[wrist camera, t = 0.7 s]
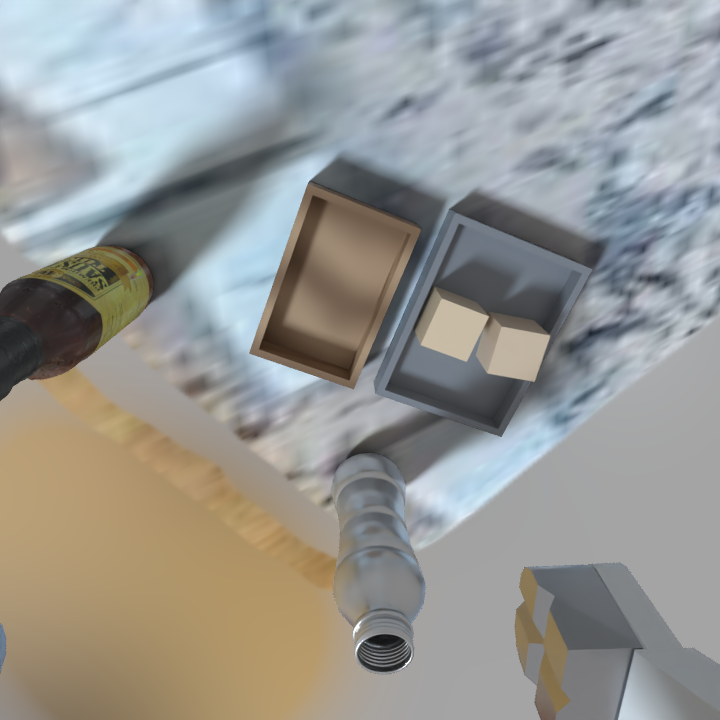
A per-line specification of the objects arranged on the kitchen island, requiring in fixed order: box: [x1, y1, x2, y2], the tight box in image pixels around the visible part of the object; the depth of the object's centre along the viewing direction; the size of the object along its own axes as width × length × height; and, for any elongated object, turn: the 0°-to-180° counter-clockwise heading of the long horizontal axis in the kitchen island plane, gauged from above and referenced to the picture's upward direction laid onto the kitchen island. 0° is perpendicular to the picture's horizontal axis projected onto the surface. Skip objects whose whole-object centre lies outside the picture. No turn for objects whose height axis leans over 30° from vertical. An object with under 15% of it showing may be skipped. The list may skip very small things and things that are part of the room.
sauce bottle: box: [0, 245, 154, 401], centre depth 37 cm, size 6×6×20 cm
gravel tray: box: [374, 209, 593, 437], centre depth 47 cm, size 16×12×2 cm
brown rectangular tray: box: [249, 181, 422, 389], centre depth 45 cm, size 14×9×3 cm, turn 159°
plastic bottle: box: [332, 453, 426, 674], centre depth 44 cm, size 6×7×20 cm
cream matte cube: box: [414, 285, 489, 362], centre depth 45 cm, size 4×4×4 cm
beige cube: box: [476, 312, 550, 382], centre depth 46 cm, size 4×4×4 cm
